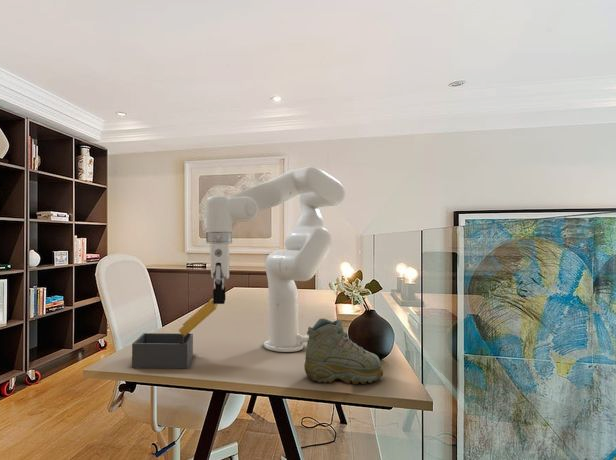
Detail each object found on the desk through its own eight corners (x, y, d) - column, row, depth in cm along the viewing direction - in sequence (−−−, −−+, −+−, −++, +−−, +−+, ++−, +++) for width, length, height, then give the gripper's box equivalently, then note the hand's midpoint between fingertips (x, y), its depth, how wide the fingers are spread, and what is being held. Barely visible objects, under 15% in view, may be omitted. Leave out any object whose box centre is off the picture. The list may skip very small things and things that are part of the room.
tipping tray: (228, 295, 114) (222, 288, 114) (227, 299, 106) (221, 292, 106) (187, 330, 115) (181, 324, 115) (183, 337, 107) (177, 330, 107)
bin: (192, 355, 116) (193, 325, 117) (187, 368, 104) (187, 334, 104) (143, 354, 117) (143, 324, 117) (131, 367, 105) (132, 334, 105)
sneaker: (389, 388, 89) (386, 322, 91) (304, 383, 93) (303, 320, 95) (380, 376, 99) (377, 317, 101) (304, 373, 103) (303, 316, 105)
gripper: (231, 238, 102) (232, 307, 102) (232, 239, 119) (233, 297, 119) (203, 238, 103) (203, 307, 102) (208, 239, 120) (208, 297, 119)
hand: (219, 301), depth 110 cm, fingers closed on tipping tray, 4 cm apart
